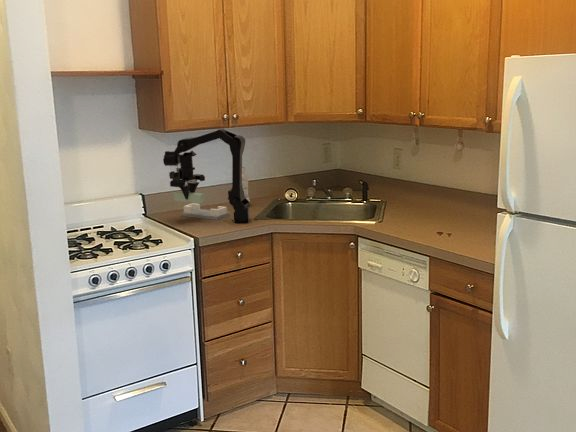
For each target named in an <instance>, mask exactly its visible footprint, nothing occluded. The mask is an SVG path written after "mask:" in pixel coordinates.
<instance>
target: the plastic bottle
mask: <svg viewBox="0 0 576 432" xmlns="http://www.w3.org/2000/svg"><path fill="white" fill-rule="evenodd" d="M242 188H243V190H244V195H245V198H246V199H247V200H248V201H249V202H250V203H251V200H250V197H249V196H250V195H249V176H248V174H247V173H246V167H243V166H242Z"/></svg>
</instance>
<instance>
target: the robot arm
mask: <svg viewBox="0 0 576 432" xmlns="http://www.w3.org/2000/svg"><path fill="white" fill-rule="evenodd" d="M218 139H220V140H221V141H222V142H223V143H225V144H227V145H228V146H229V151H230V153H231V156H232V166H231V167H232V168H231V169H232V172H231V173H232V175H231V177H232V180H231V182H232V186H231V189H229V190H228V191H227V195H228V197H227V200H228V203H229V204H230V205H231V206H232V208H233V210H234V212H233V222H234V223H235V224H248V223H249V222H250V221H251V218H250V208H249V207H250V204H251V201H250V202H249V201H248V200H247V199H246V198H245V195H244V190H243V188H242V167H243V154H244V151H245V147H246V139H245V137H244V136H243V135H241V134H240V135H239V134H238V135H237V134H235V133H233V132H230V131H228V130H226V129H225V128H219V129H216V130H215V131H211V132H207V133H205V134H203V135H200V136H195V137H192V136H191V137H185V138H182V139H180V140H177V144H176V148H175V149H174V150H173V151H172V150H171V151H170V150H166V151H164V155H163V160H162V161H163V164H164V166H165V167H167V166H169V167H170V166H171V167H174V166H176V167H177V166H178V165H179V164H180V165H179V166H180V167H179V168H178V171H170V172H168V173H169V175H168V176H169V179H170V182H169V186H170V188H171V187H172V188H179V189H180V191H181V192H183V194H184V197H185V199H188V196H189V192H191V193H196V191H197V188H198V186H199V184H200V182H203V181H206V176H205V175H204V174H201V173H195V174H194V171H195V170H196V167H194V163H193V157H196V156H197V153H196V152H194V150H192V149H194V148H195V147H198V146H200V145H203V144H205V143H208V142H209V143H210V142H211V141H216V140H218ZM190 150H191V151H190ZM187 151H188V152H187ZM189 151H190V152H189ZM199 181H200V182H199Z"/></svg>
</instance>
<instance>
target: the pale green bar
mask: <svg viewBox="0 0 576 432" xmlns="http://www.w3.org/2000/svg"><path fill="white" fill-rule="evenodd" d="M172 193H173V194H172V195H173V201H175V202H182V203H183V202H184V203H191V204H192V203H194V204H203V203H205V193H201V192H195V193H191V192H189V196H188V199H185V197H184V194H183V192H182V191H181V190H180V191H179V190H177V191H174V192H172Z"/></svg>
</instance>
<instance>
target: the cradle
mask: <svg viewBox="0 0 576 432" xmlns="http://www.w3.org/2000/svg"><path fill="white" fill-rule="evenodd" d="M180 214H181V217H188V218H189V217H190V218H198V219H206V220H215V221H218V220H221V219H224V218H226V217H229V216H231V215H230V214H231V212H229V211H228V207H227V206H217V208H210V209H202V208H201V203H192V202H191V203H189V204H186V205H184V206H183V212H181V213H180Z"/></svg>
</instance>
